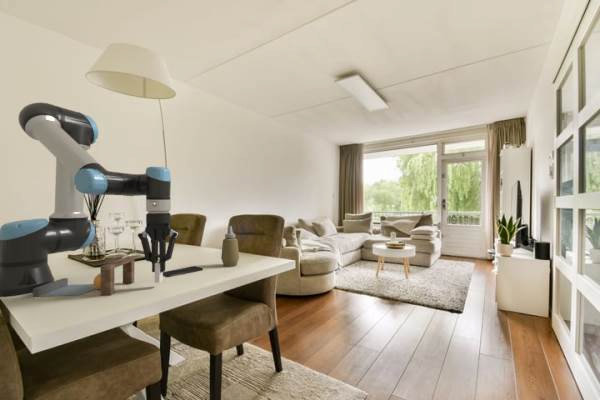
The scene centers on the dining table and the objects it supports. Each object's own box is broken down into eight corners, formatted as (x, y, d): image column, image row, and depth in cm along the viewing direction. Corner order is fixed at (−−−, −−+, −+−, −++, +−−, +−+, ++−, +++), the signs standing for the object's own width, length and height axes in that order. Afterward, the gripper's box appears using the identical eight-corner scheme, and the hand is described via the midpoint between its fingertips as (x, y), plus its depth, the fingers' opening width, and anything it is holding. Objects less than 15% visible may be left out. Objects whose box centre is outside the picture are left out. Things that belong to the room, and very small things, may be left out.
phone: (204, 268, 119) (168, 275, 107) (204, 271, 119) (168, 278, 107) (194, 265, 124) (159, 272, 113) (194, 268, 124) (159, 275, 113)
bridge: (100, 295, 86) (100, 265, 86) (125, 282, 101) (125, 257, 101) (110, 295, 86) (110, 265, 87) (134, 282, 101) (134, 256, 101)
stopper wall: (33, 296, 86) (33, 288, 86) (62, 285, 98) (62, 278, 98) (38, 296, 86) (38, 288, 86) (67, 285, 98) (67, 278, 98)
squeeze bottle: (237, 267, 123) (236, 226, 123) (218, 267, 123) (218, 226, 123) (241, 263, 131) (240, 225, 131) (224, 263, 131) (223, 225, 132)
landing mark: (40, 296, 86) (40, 295, 86) (68, 285, 98) (68, 284, 98) (81, 295, 87) (81, 294, 87) (104, 284, 99) (104, 283, 99)
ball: (97, 295, 90) (85, 282, 90) (107, 289, 96) (96, 278, 96) (110, 283, 91) (99, 271, 90) (120, 279, 96) (109, 267, 96)
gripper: (133, 213, 91) (133, 285, 90) (174, 212, 92) (174, 283, 92) (143, 212, 98) (144, 279, 98) (181, 211, 99) (182, 277, 99)
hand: (158, 281), depth 95 cm, fingers closed
